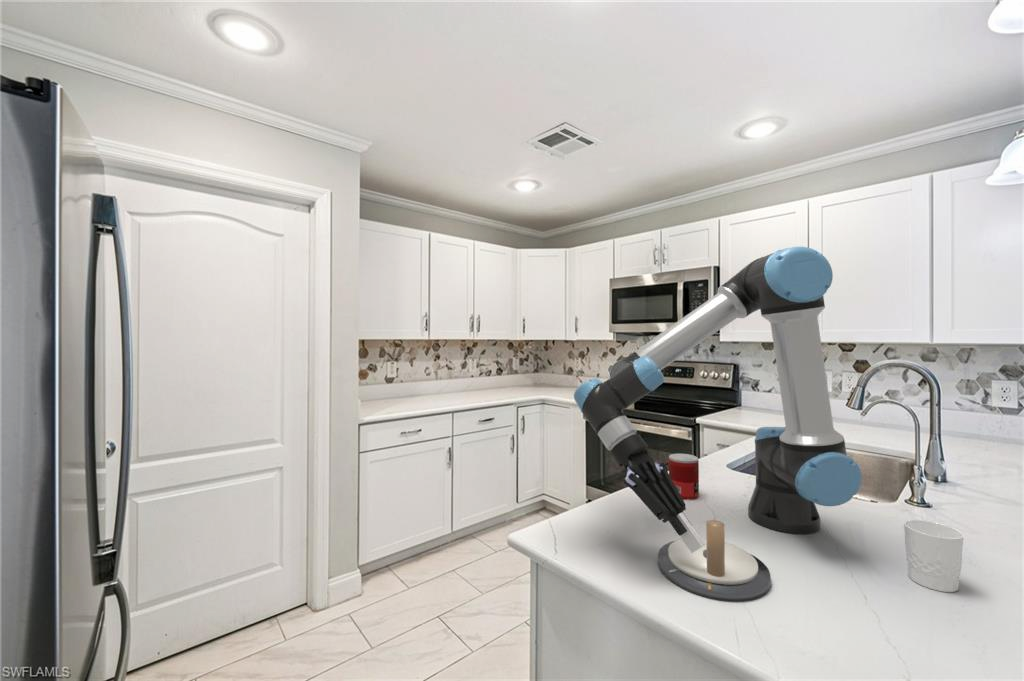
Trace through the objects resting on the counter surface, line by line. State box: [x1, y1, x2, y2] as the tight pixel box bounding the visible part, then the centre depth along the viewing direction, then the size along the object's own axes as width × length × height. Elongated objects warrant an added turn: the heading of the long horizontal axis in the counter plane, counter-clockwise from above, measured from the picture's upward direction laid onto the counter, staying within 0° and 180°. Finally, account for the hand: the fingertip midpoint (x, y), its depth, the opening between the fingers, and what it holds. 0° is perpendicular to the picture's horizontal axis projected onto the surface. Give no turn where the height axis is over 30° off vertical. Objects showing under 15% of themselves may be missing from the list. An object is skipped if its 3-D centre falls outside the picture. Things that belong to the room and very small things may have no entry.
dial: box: [668, 519, 758, 585], centre depth 86 cm, size 16×16×10 cm
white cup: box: [903, 519, 964, 593], centre depth 81 cm, size 8×8×10 cm
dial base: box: [657, 539, 772, 603], centre depth 86 cm, size 20×20×2 cm
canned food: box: [668, 453, 700, 500], centre depth 126 cm, size 8×8×11 cm
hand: (698, 548), depth 81 cm, fingers closed
